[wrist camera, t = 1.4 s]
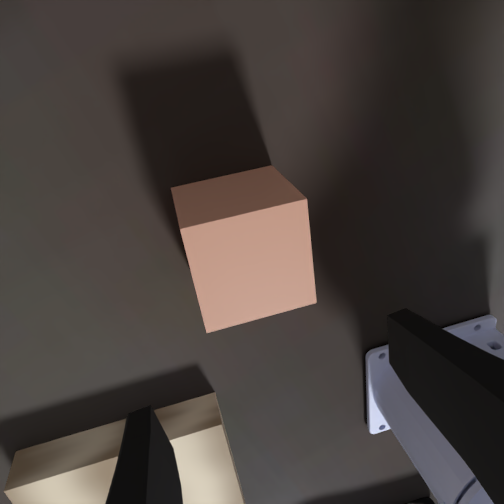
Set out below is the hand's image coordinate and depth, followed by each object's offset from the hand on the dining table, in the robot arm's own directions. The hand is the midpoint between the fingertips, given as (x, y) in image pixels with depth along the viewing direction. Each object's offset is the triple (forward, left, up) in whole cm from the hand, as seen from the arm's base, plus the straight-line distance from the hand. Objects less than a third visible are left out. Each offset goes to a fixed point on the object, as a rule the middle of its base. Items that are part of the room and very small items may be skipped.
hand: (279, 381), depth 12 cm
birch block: (+8, +17, -11) cm, 22 cm away
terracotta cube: (-1, 0, -11) cm, 11 cm away
